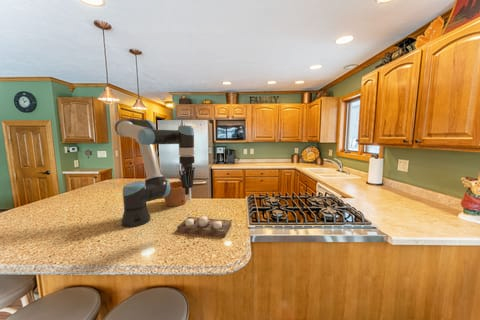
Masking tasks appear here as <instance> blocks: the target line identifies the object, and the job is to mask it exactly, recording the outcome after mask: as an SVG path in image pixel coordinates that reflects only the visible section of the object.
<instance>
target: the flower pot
mask: <svg viewBox="0 0 480 320" xmlns="http://www.w3.org/2000/svg"><path fill="white" fill-rule="evenodd" d="M169 183H170V192H169V194H168V195H167V196H166V197H163V198H164V201H165V204H166V206H167V207H179V206H183V205H185V204H186V203H187V200H185V188H182V182H181V180H180V181H169Z"/></svg>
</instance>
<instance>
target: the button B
mask: <svg viewBox="0 0 480 320" xmlns="http://www.w3.org/2000/svg"><path fill="white" fill-rule="evenodd" d="M198 218H199V226H200V227H206V226H207V225H208V220H207V218H208V216H205V215H203V216H200V217H198Z"/></svg>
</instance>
